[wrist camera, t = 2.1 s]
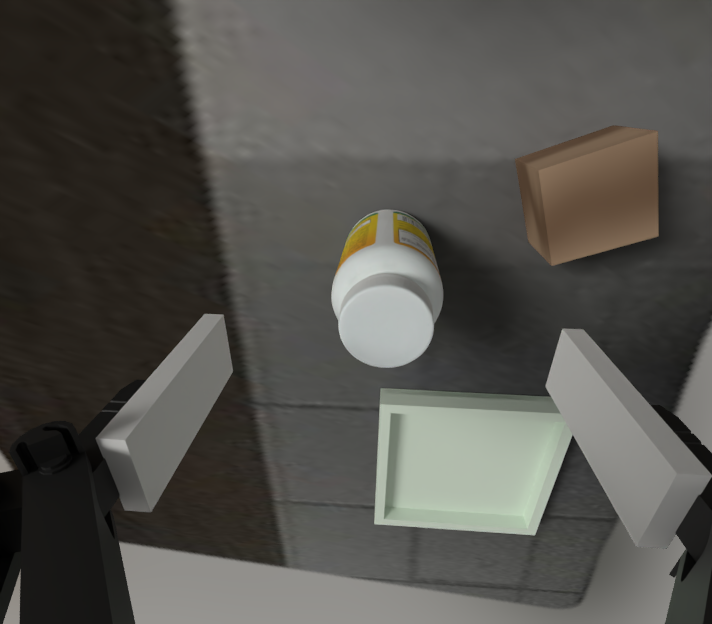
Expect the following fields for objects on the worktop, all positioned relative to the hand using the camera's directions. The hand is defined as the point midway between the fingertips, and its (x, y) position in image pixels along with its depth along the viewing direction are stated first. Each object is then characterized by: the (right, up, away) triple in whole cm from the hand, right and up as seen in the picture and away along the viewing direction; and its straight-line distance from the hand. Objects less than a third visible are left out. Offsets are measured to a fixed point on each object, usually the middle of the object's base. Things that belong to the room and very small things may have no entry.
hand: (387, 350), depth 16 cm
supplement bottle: (+1, +5, +9) cm, 11 cm away
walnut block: (+11, +9, +7) cm, 15 cm away
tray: (+8, -11, +17) cm, 22 cm away
